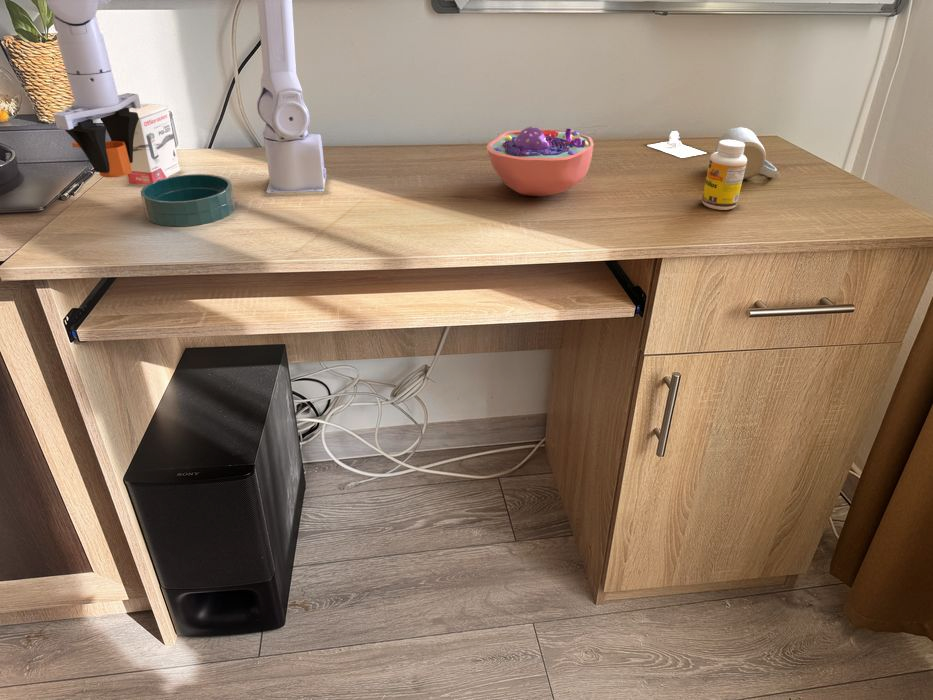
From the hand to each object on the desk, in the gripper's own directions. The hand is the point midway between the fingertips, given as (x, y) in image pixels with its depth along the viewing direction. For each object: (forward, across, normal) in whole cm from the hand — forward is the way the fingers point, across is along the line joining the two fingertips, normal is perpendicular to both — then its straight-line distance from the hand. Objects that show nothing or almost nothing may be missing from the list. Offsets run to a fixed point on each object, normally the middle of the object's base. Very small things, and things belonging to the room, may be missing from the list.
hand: (114, 166), depth 103 cm
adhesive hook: (+7, -65, +81) cm, 104 cm away
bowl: (+7, -3, +10) cm, 13 cm away
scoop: (+1, 0, -2) cm, 2 cm away
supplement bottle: (+7, -34, +89) cm, 95 cm away
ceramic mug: (+7, -52, +93) cm, 107 cm away
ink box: (+7, -15, -6) cm, 18 cm away
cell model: (+7, -31, +59) cm, 67 cm away
